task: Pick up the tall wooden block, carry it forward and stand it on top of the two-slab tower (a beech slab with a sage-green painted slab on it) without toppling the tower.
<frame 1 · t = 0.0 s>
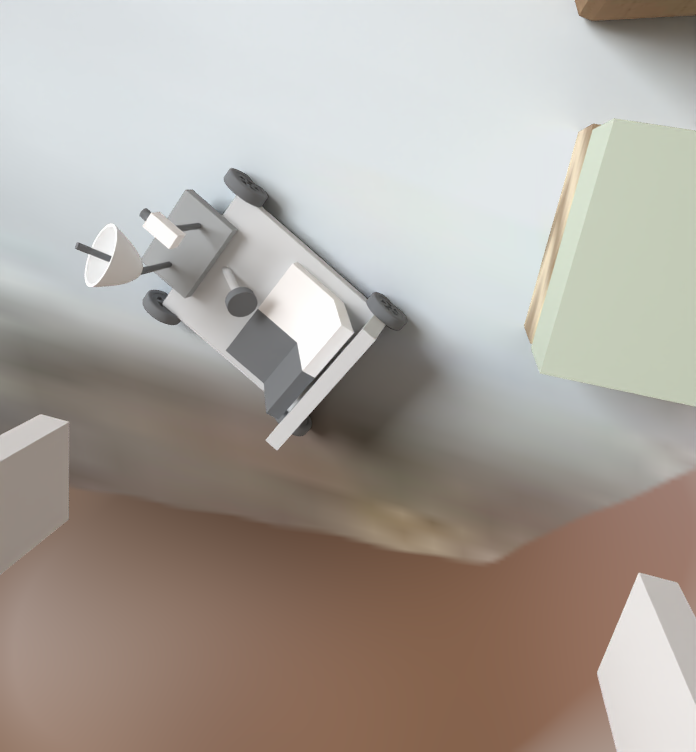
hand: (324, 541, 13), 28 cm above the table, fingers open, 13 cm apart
tower top: (673, 266, 31), point 5 cm above the table, touching tower base
white toy machine: (264, 292, 42), on the table
tower base: (647, 252, 36), on the table, touching tower top
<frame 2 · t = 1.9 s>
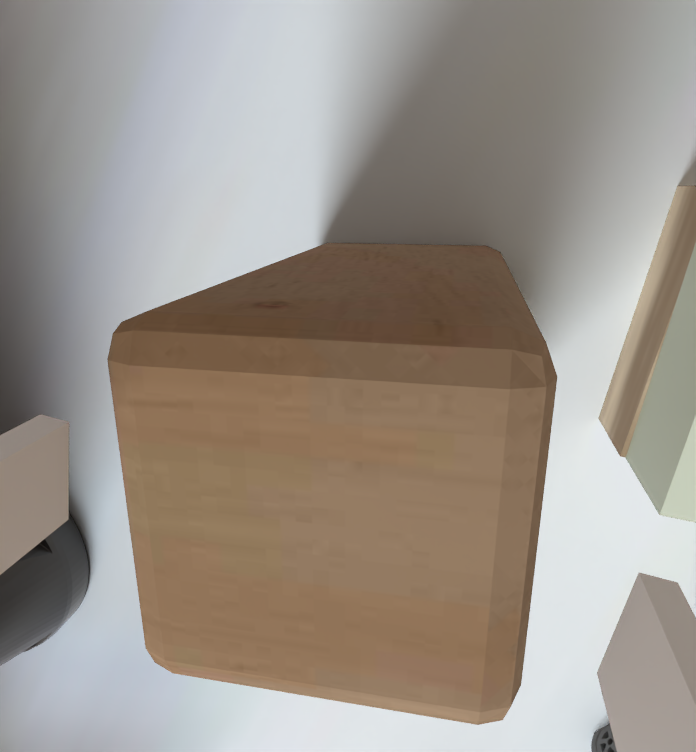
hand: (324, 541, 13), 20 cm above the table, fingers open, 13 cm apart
wooden block: (404, 334, 32), on the table
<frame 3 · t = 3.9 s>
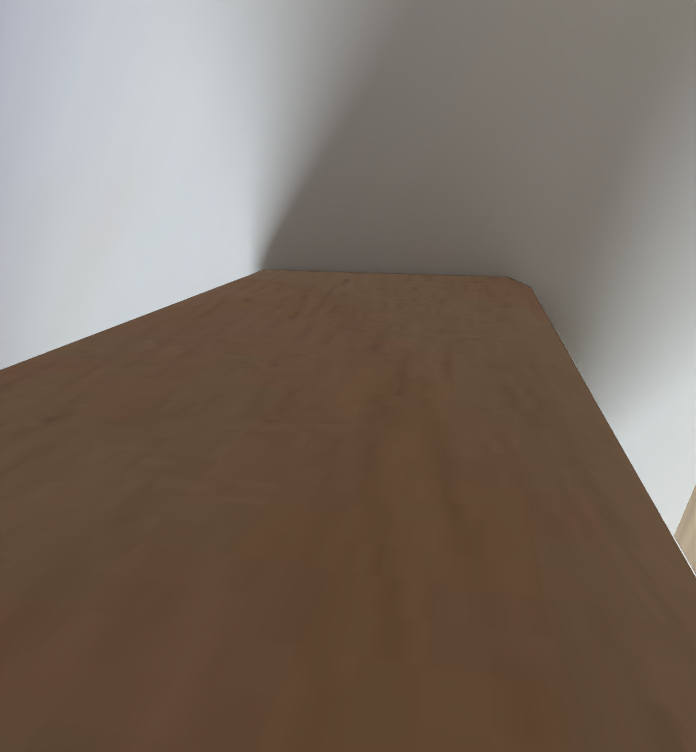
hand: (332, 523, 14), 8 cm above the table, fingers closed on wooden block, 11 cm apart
wooden block: (383, 404, 21), on the table, touching gripper
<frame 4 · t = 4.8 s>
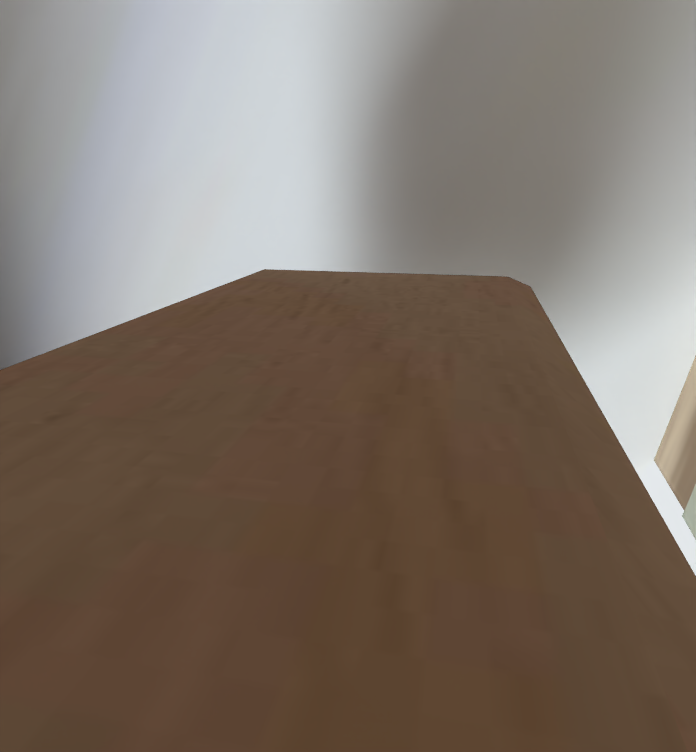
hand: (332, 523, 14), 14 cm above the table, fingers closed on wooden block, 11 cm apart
wooden block: (383, 403, 21), point 6 cm above the table, touching gripper
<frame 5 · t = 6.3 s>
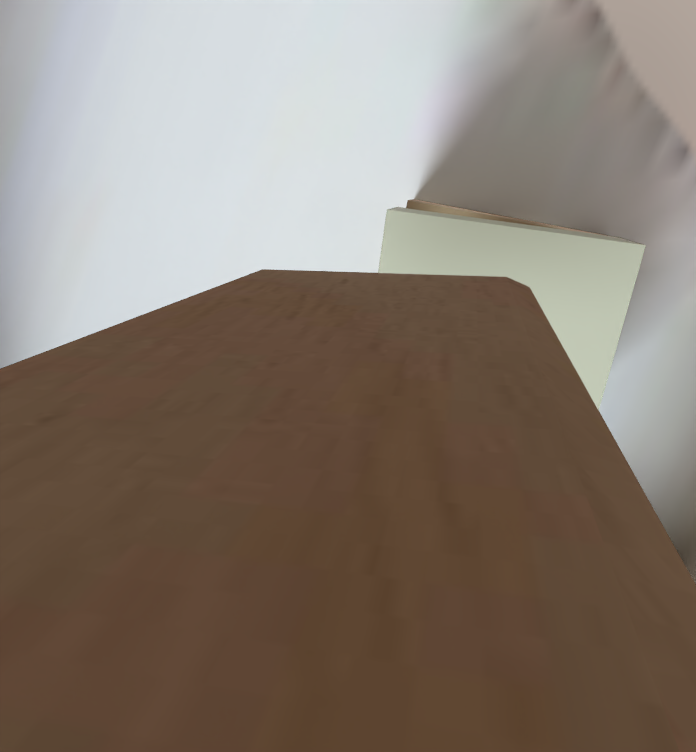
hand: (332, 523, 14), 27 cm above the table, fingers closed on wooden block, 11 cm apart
tower top: (483, 326, 34), point 5 cm above the table
tower base: (484, 308, 38), on the table
wooden block: (382, 404, 21), point 19 cm above the table, touching gripper
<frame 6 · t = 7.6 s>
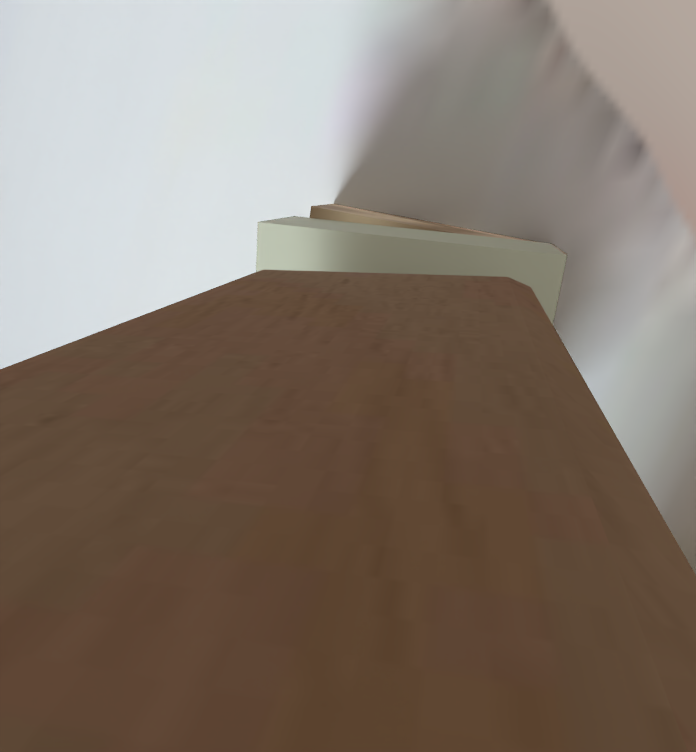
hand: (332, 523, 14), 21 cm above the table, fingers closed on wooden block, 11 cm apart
tower top: (402, 352, 29), point 5 cm above the table, touching tower base
tower base: (418, 328, 33), on the table, touching tower top
wooden block: (383, 404, 21), point 13 cm above the table, touching gripper
when the fingers open (19 cm above the table, at t = 8.8 s): wooden block drops 2 cm, resting on tower top.
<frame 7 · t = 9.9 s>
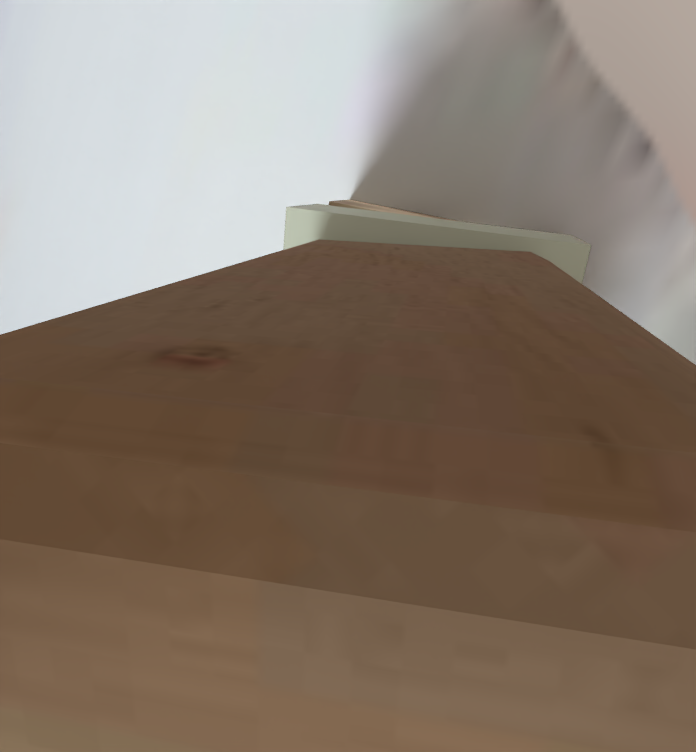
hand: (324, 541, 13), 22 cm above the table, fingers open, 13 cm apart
tower top: (421, 340, 29), point 5 cm above the table, touching tower base, wooden block
tower base: (431, 323, 34), on the table, touching tower top
wooden block: (413, 363, 25), point 10 cm above the table, touching gripper, tower top
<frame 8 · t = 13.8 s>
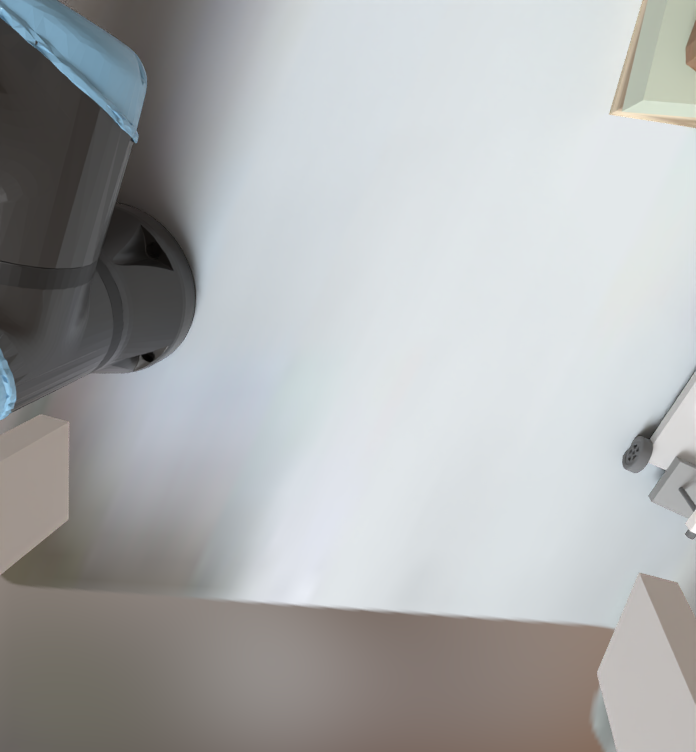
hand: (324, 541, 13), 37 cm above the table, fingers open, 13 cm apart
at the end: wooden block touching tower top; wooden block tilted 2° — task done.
